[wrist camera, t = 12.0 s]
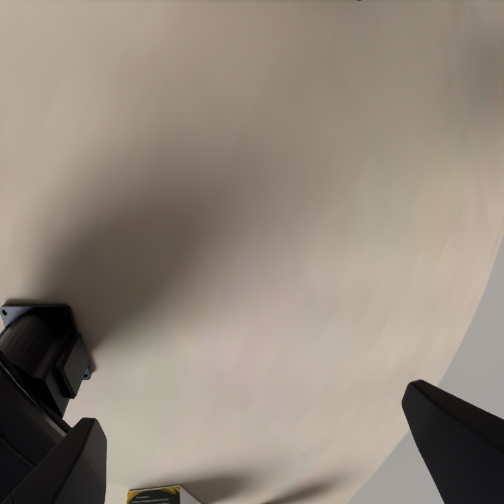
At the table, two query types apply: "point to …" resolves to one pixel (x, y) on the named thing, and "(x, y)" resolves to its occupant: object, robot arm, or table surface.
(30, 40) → the table surface
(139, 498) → the medicine bottle
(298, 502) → the table surface
